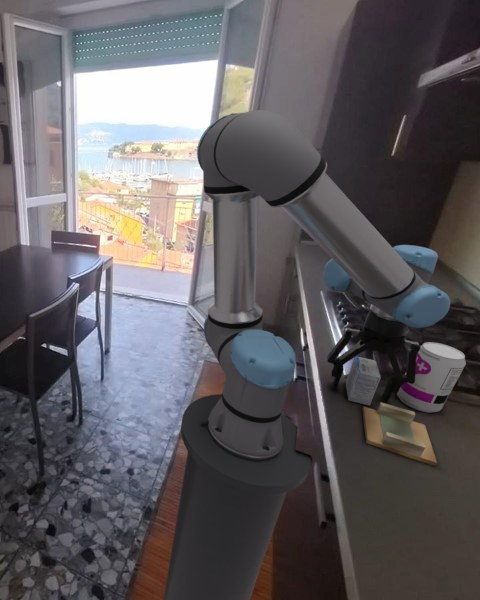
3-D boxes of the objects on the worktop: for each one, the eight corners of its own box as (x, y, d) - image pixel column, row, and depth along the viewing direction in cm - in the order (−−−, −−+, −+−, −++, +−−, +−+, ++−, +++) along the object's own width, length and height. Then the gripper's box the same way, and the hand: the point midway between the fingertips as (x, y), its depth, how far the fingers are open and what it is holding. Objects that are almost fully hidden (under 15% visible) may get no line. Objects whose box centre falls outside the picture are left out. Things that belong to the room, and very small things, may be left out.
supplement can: (405, 410, 84) (430, 357, 78) (390, 388, 91) (412, 338, 85) (447, 417, 82) (478, 363, 75) (429, 395, 89) (455, 344, 82)
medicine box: (369, 406, 85) (382, 377, 82) (347, 400, 87) (358, 371, 84) (365, 388, 91) (376, 360, 88) (344, 383, 93) (354, 355, 90)
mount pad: (366, 443, 75) (371, 430, 74) (362, 409, 84) (367, 398, 83) (435, 466, 70) (442, 453, 68) (423, 427, 79) (429, 415, 77)
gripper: (331, 309, 82) (306, 387, 92) (462, 334, 71) (418, 420, 81) (331, 298, 88) (307, 372, 97) (452, 320, 77) (412, 401, 87)
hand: (358, 394), depth 89 cm, fingers open, 9 cm apart
